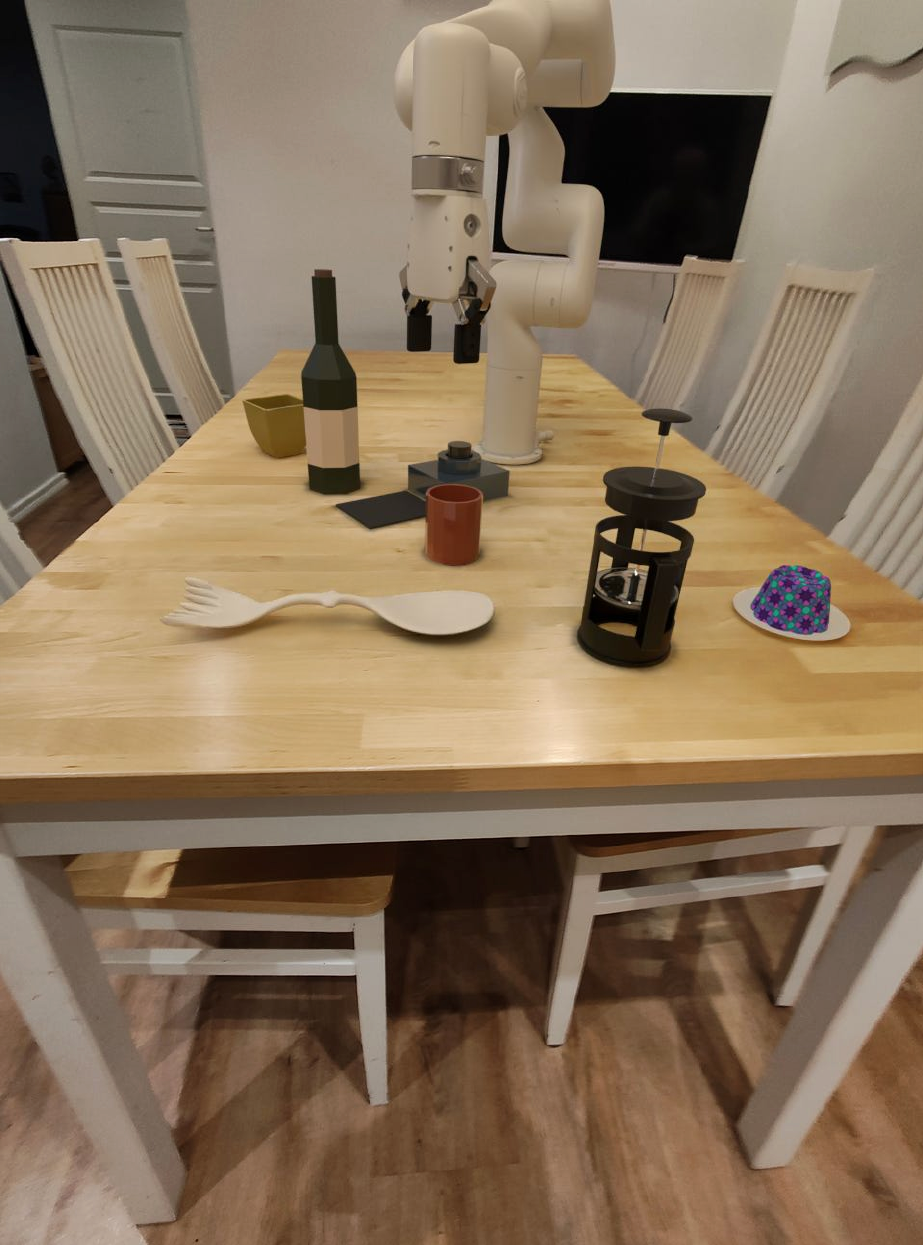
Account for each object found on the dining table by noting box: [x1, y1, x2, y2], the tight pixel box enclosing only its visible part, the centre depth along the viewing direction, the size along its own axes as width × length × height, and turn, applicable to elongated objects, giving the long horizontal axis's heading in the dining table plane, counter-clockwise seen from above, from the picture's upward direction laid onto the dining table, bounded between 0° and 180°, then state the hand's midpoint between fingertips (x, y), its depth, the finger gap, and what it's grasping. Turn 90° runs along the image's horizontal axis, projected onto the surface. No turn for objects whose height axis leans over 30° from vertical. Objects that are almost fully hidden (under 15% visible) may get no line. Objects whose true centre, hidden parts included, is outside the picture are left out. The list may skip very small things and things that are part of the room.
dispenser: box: [407, 449, 511, 502], centre depth 104 cm, size 12×10×6 cm
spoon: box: [159, 576, 496, 636], centre depth 68 cm, size 9×32×4 cm, turn 94°
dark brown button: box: [447, 440, 473, 459], centre depth 102 cm, size 4×4×2 cm
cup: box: [424, 484, 484, 566], centre depth 83 cm, size 7×7×8 cm
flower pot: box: [241, 393, 306, 459], centre depth 117 cm, size 9×9×9 cm
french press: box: [576, 407, 707, 669], centre depth 62 cm, size 12×9×23 cm
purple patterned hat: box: [732, 564, 851, 641], centre depth 73 cm, size 12×12×5 cm
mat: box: [335, 490, 426, 530], centre depth 98 cm, size 12×10×1 cm
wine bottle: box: [300, 268, 361, 496], centre depth 98 cm, size 8×8×30 cm
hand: (441, 356), depth 79 cm, fingers open, 9 cm apart
